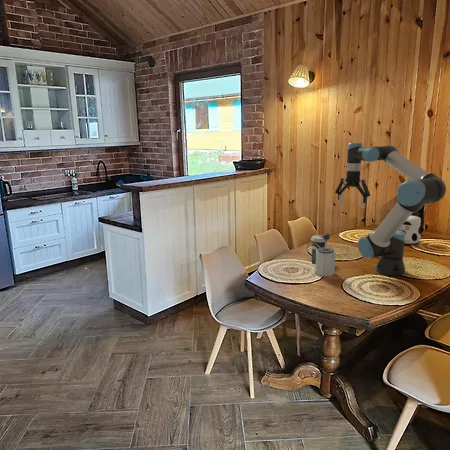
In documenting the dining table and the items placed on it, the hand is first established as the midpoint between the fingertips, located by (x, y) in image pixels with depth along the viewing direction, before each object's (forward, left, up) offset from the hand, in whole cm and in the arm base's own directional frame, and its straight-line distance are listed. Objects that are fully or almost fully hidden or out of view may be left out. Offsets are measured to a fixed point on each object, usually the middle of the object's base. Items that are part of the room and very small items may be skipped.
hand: (351, 207), depth 224 cm
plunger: (+3, +23, -30) cm, 38 cm away
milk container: (-12, -65, -35) cm, 75 cm away
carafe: (+5, +23, -35) cm, 42 cm away
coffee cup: (+17, +6, -35) cm, 39 cm away
